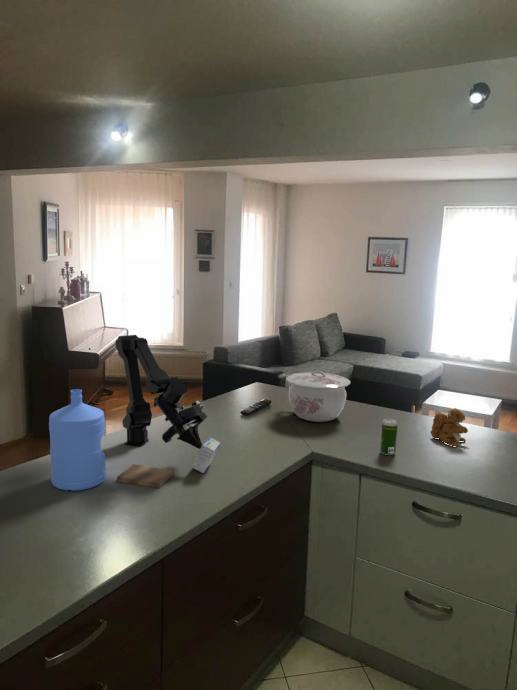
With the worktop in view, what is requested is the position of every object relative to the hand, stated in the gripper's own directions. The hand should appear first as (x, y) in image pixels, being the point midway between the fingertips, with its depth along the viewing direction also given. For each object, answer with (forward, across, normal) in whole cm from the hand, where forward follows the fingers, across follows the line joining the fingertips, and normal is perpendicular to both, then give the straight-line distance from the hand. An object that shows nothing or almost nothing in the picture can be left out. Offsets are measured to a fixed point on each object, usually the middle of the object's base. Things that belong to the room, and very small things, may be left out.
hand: (201, 448), depth 167 cm
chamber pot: (+15, +72, -4) cm, 73 cm away
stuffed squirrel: (+53, +69, -42) cm, 97 cm away
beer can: (+41, +44, -30) cm, 67 cm away
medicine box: (+4, +1, +5) cm, 7 cm away
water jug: (-14, -24, +25) cm, 38 cm away
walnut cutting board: (-3, -13, +13) cm, 19 cm away
